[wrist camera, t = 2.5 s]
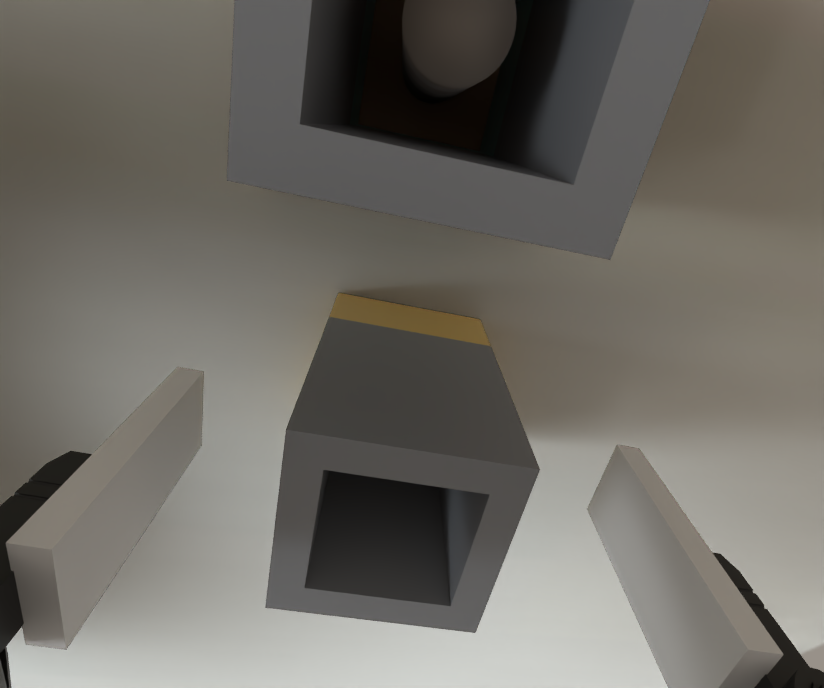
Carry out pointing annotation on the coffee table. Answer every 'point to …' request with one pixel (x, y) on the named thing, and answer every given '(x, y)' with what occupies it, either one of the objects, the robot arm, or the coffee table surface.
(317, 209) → the coffee table surface
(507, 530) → the sleeve ochre
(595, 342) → the coffee table surface
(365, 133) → the sleeve teal
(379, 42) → the pin board
